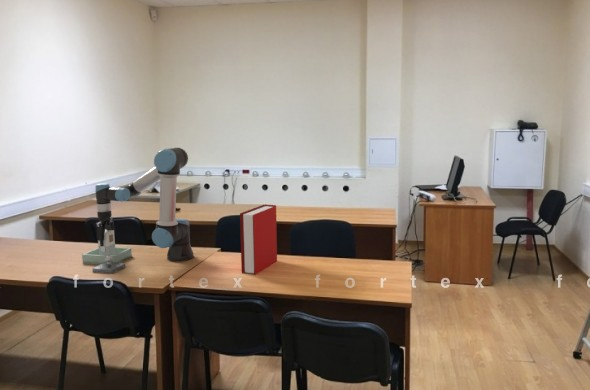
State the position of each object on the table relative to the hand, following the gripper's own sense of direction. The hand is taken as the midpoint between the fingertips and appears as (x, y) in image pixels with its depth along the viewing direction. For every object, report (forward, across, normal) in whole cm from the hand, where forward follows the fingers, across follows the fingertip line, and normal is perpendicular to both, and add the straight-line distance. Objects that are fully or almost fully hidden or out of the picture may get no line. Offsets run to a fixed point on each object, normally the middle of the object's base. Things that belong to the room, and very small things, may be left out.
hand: (107, 249), depth 287 cm
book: (+6, -6, +91) cm, 91 cm away
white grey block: (+3, 0, 0) cm, 3 cm away
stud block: (+6, +16, +12) cm, 21 cm away
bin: (+6, 0, 0) cm, 6 cm away
